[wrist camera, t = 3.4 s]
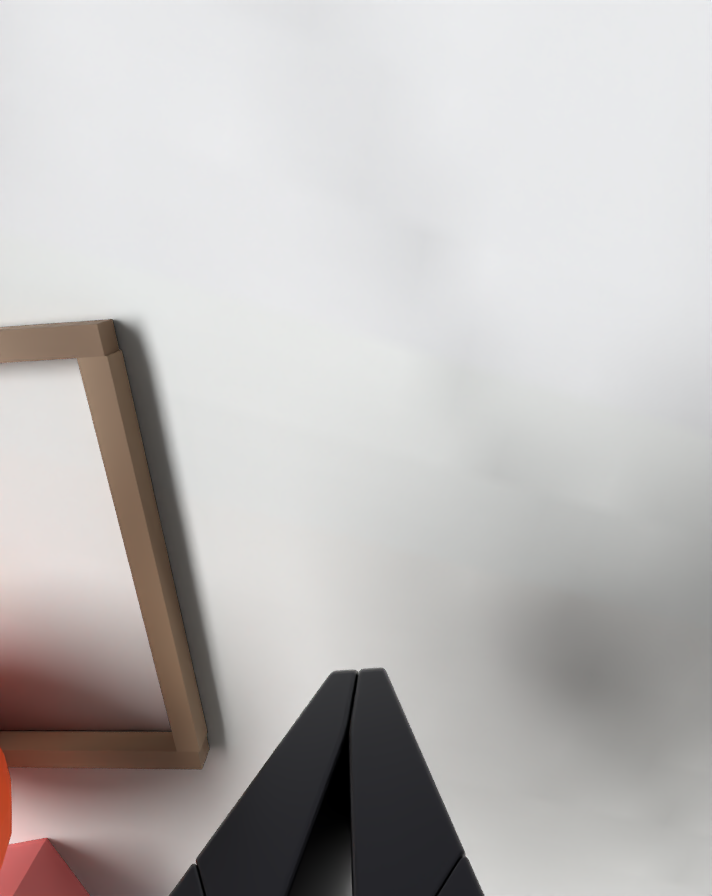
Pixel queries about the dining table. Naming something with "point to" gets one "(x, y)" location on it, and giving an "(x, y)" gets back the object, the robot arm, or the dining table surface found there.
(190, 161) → the dining table surface
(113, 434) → the wooden tray
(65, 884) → the die
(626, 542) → the dining table surface
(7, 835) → the clementine
